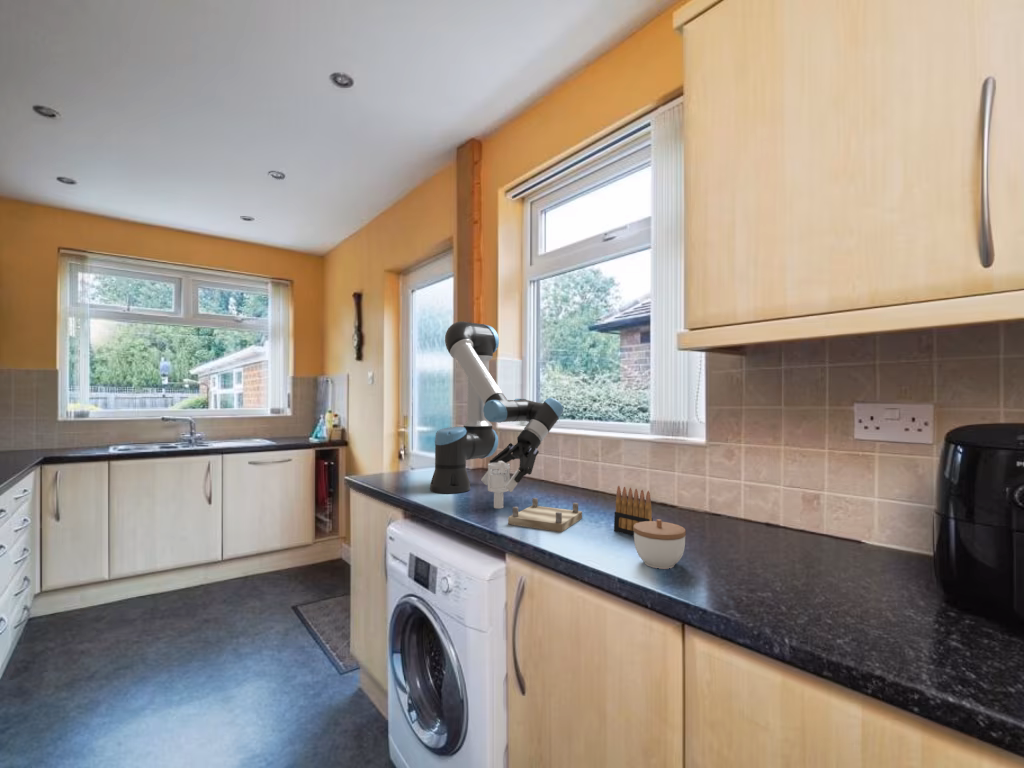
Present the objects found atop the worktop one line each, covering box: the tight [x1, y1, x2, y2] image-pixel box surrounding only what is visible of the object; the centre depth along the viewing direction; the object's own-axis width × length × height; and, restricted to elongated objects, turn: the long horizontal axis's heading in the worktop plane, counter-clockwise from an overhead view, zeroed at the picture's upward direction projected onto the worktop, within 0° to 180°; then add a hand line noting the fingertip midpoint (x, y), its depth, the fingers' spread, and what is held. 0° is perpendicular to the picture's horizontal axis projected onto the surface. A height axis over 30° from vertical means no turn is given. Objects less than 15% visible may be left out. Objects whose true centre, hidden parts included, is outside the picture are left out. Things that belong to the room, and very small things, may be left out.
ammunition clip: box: [613, 485, 654, 537], centre depth 123 cm, size 11×2×12 cm, turn 43°
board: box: [507, 497, 583, 533], centre depth 135 cm, size 16×16×4 cm
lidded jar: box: [633, 518, 687, 570], centre depth 101 cm, size 11×11×9 cm
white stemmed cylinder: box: [487, 461, 511, 510], centre depth 151 cm, size 7×7×15 cm
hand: (495, 485), depth 150 cm, fingers open, 13 cm apart
